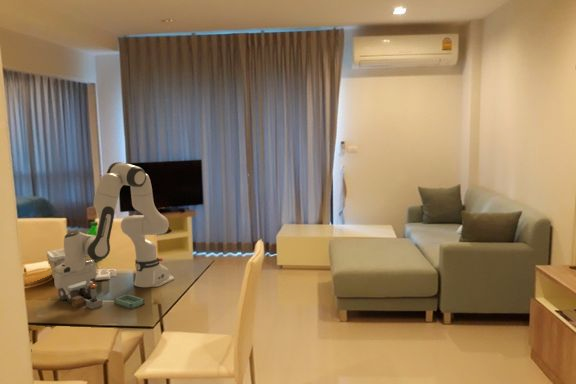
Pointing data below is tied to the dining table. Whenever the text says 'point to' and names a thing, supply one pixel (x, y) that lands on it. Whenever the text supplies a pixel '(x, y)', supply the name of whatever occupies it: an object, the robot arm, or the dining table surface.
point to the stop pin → (93, 292)
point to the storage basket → (57, 254)
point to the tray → (129, 301)
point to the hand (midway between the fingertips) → (77, 291)
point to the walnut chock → (77, 301)
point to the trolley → (78, 292)
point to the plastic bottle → (93, 230)
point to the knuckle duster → (105, 274)
